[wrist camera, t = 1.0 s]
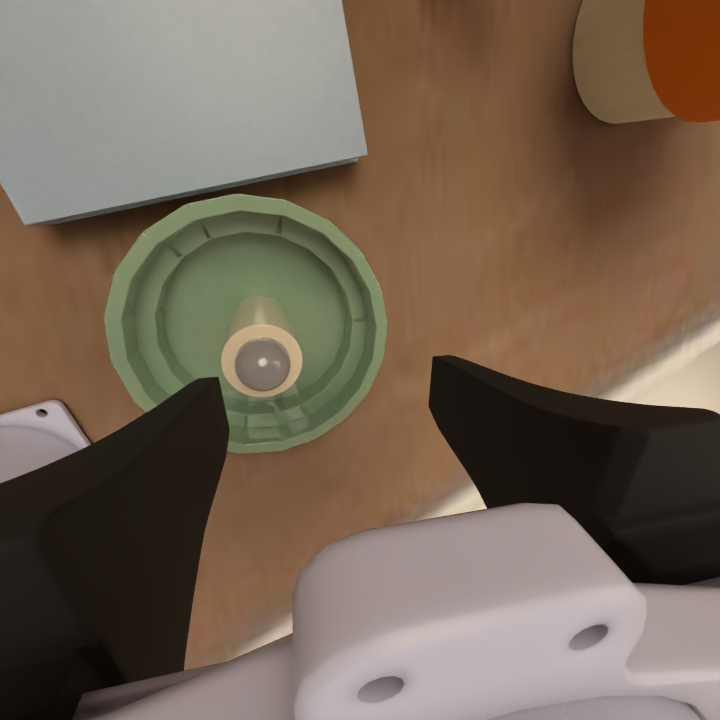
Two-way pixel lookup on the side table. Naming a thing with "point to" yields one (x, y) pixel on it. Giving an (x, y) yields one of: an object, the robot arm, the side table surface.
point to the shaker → (261, 348)
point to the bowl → (229, 288)
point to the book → (168, 100)
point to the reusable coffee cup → (648, 59)
